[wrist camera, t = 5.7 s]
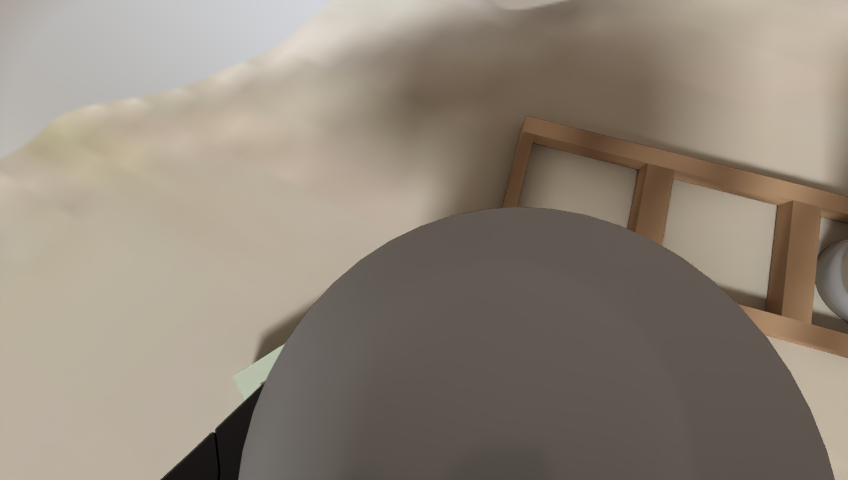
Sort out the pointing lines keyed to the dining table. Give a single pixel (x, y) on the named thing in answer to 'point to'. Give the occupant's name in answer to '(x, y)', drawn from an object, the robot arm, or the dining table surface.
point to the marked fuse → (529, 366)
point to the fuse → (834, 278)
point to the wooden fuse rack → (659, 168)
